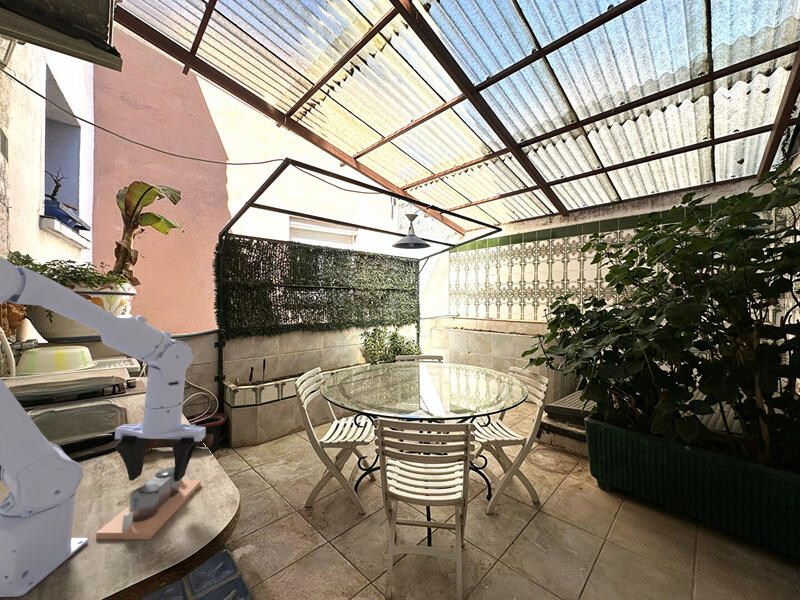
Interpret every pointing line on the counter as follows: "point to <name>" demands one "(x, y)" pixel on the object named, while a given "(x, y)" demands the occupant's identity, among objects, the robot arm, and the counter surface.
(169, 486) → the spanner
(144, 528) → the peg board
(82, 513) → the counter surface
